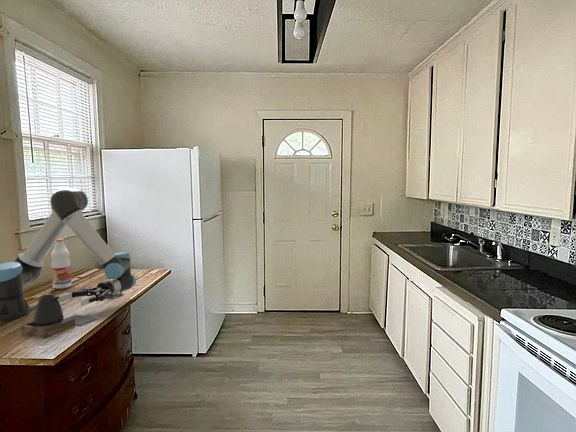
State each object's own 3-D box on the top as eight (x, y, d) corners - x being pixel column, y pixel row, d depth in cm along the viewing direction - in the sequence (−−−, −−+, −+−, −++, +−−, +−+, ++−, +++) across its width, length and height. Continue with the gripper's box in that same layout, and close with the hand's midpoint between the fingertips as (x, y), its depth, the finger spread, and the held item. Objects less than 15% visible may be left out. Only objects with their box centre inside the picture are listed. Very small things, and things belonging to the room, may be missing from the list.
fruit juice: (63, 284, 224) (61, 237, 221) (75, 285, 220) (72, 238, 218) (48, 288, 215) (45, 239, 212) (60, 289, 212) (57, 240, 209)
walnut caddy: (21, 333, 150) (21, 325, 149) (51, 322, 162) (51, 314, 161) (46, 338, 145) (45, 329, 145) (75, 326, 157) (74, 318, 157)
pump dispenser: (50, 335, 148) (48, 298, 146) (28, 333, 150) (25, 296, 149) (70, 326, 158) (68, 290, 156) (49, 324, 160) (47, 289, 158)
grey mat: (57, 322, 162) (57, 321, 162) (75, 315, 170) (75, 314, 170) (80, 326, 158) (80, 325, 157) (97, 318, 166) (97, 317, 166)
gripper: (129, 298, 178) (92, 312, 158) (89, 293, 187) (49, 306, 167) (128, 282, 178) (91, 295, 158) (88, 278, 186) (48, 290, 166)
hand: (69, 301), depth 162 cm, fingers open, 13 cm apart
